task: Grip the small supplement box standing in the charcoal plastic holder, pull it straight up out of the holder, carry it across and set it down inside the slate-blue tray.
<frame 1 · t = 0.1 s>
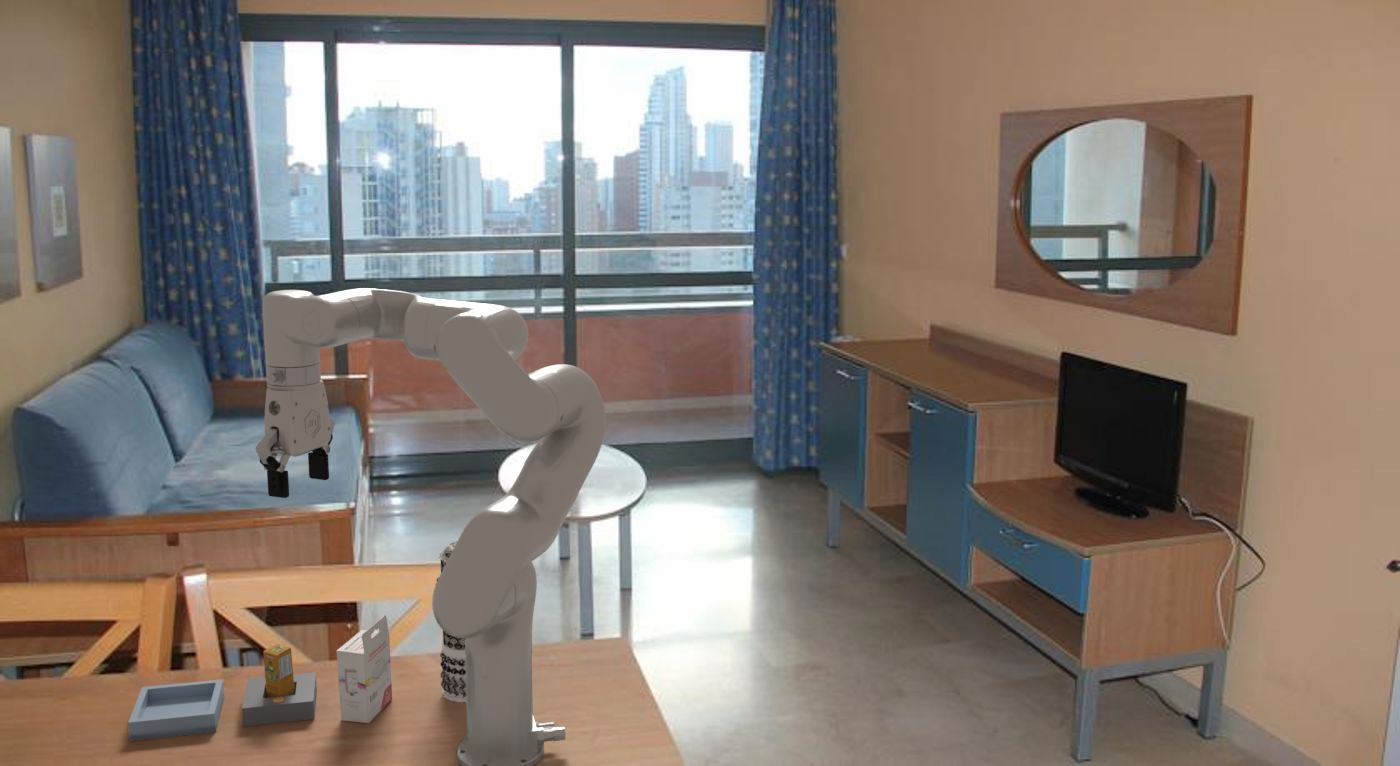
hand: (299, 487, 181), 37 cm above the table, tool pointing down, fingers open, 9 cm apart
holder and tray: (233, 712, 190), on the table
ink cartridge box: (366, 711, 191), on the table
supplement box: (281, 708, 191), resting in holder and tray
decorative candle: (468, 691, 198), on the table
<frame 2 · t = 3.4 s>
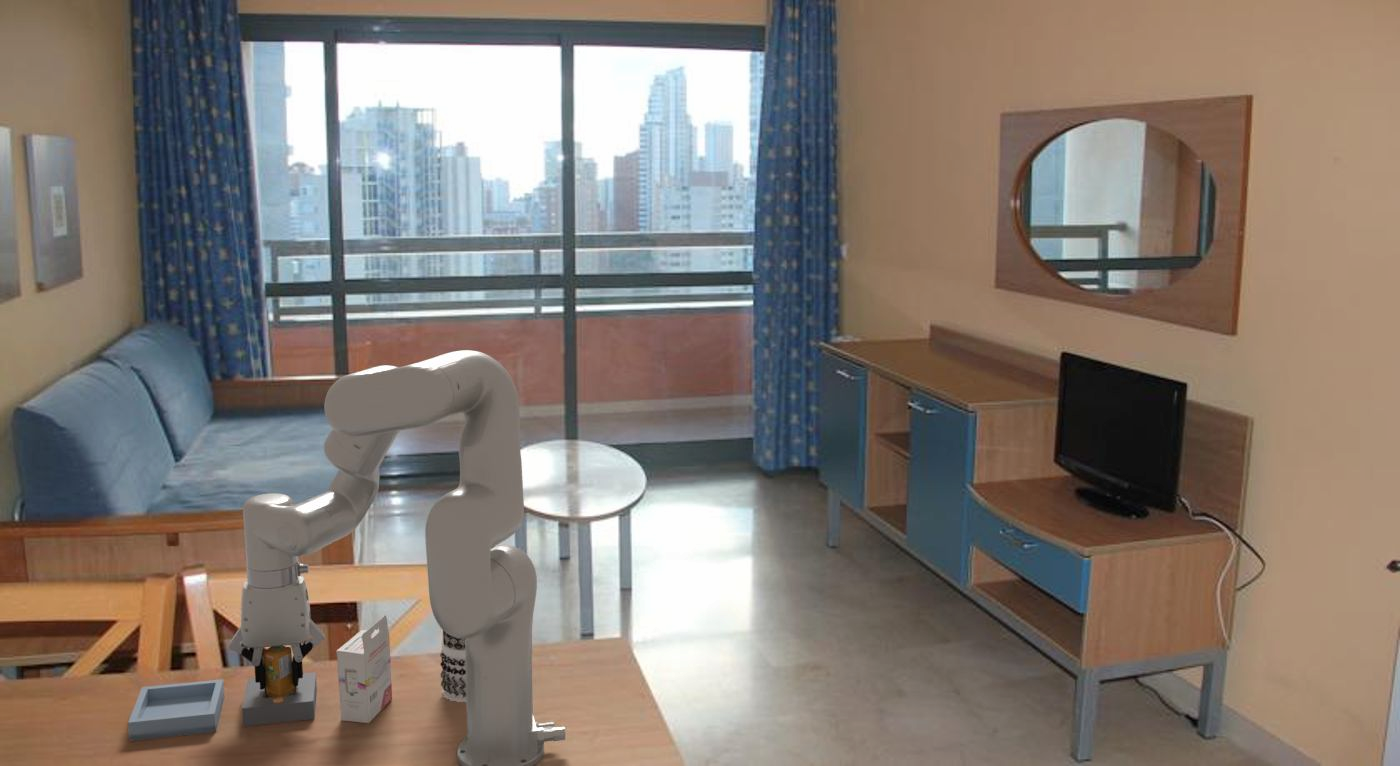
hand: (279, 683, 191), 4 cm above the table, tool pointing down, fingers closed on supplement box, 4 cm apart
supplement box: (281, 708, 191), resting in holder and tray, touching gripper
everything else where it was.
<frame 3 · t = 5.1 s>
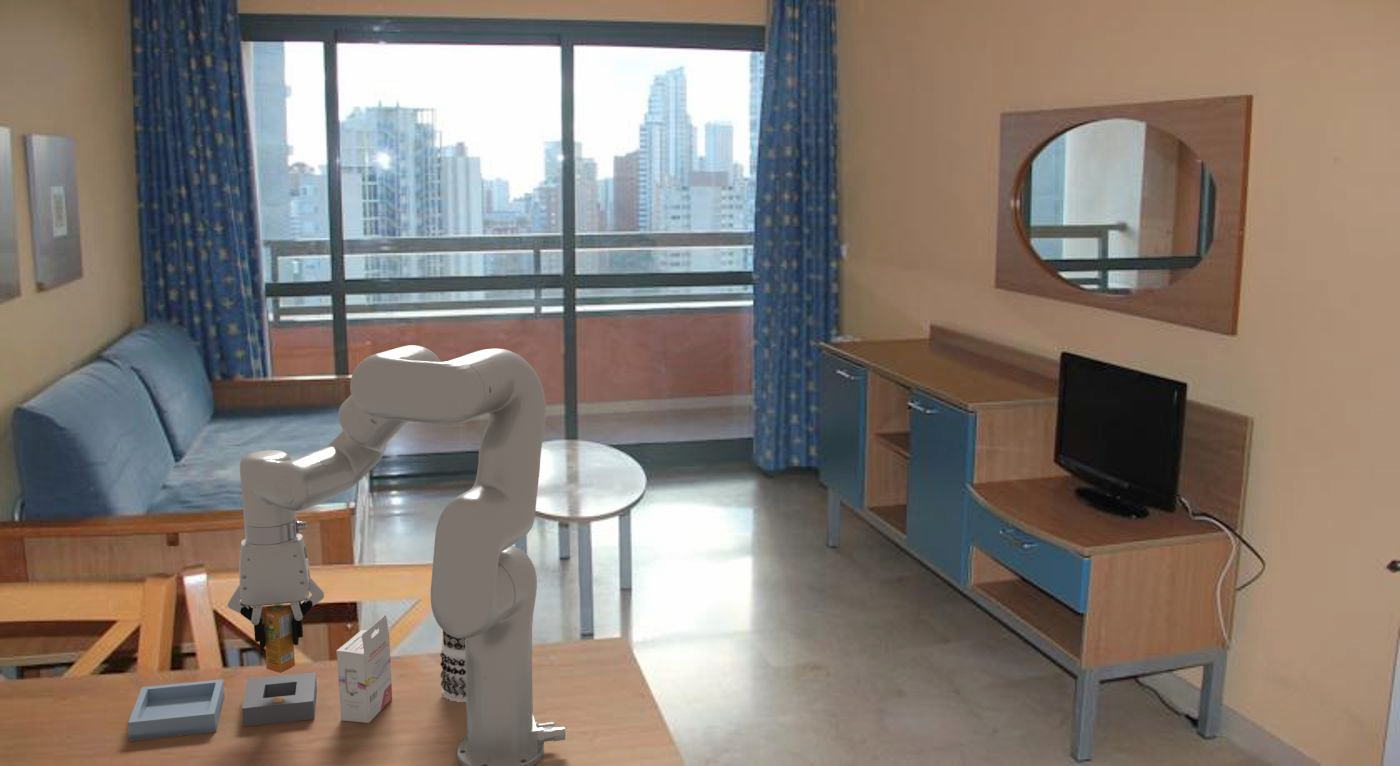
hand: (279, 642, 189), 11 cm above the table, tool pointing down, fingers closed on supplement box, 4 cm apart
supplement box: (280, 669, 190), point 7 cm above the table, touching gripper
everything else where it was.
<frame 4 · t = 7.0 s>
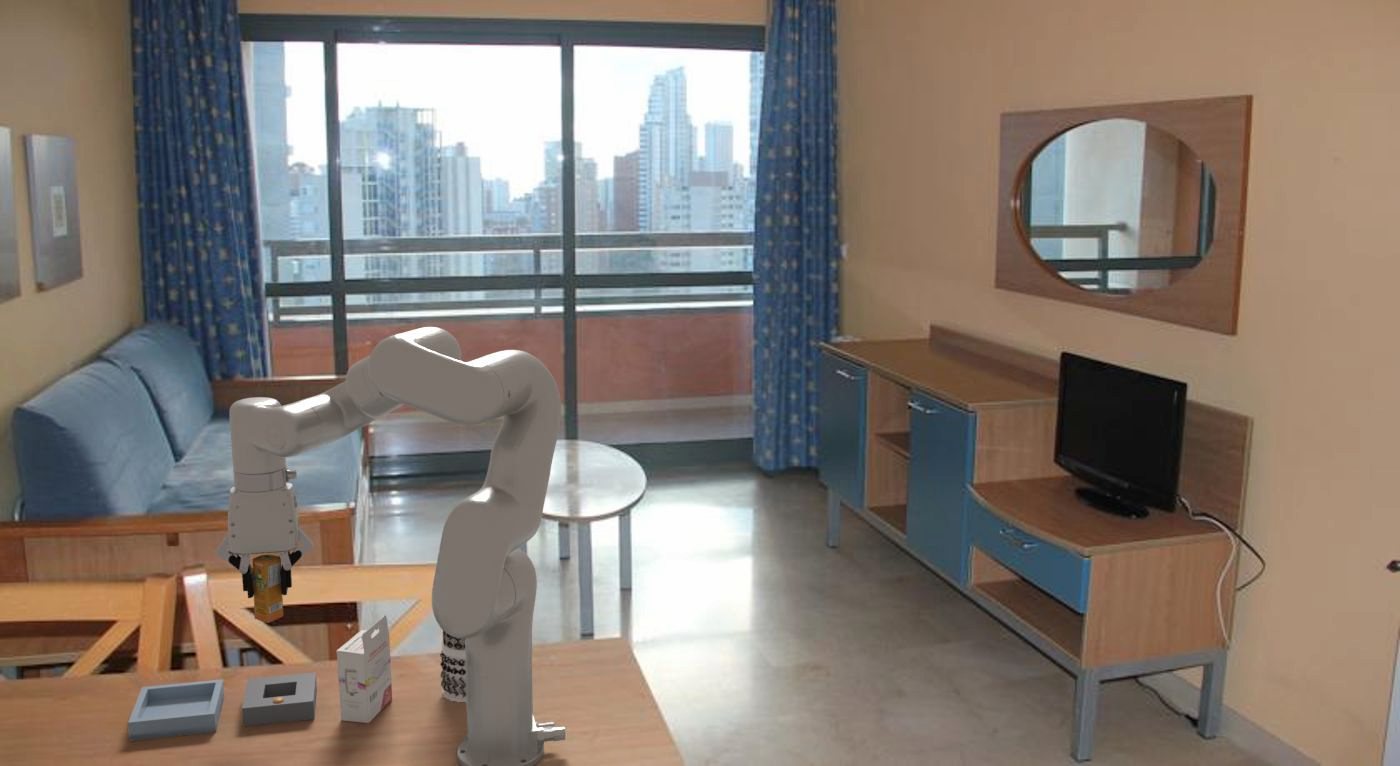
hand: (268, 592, 187), 19 cm above the table, tool pointing down, fingers closed on supplement box, 4 cm apart
supplement box: (268, 619, 188), point 15 cm above the table, touching gripper
everything else where it was.
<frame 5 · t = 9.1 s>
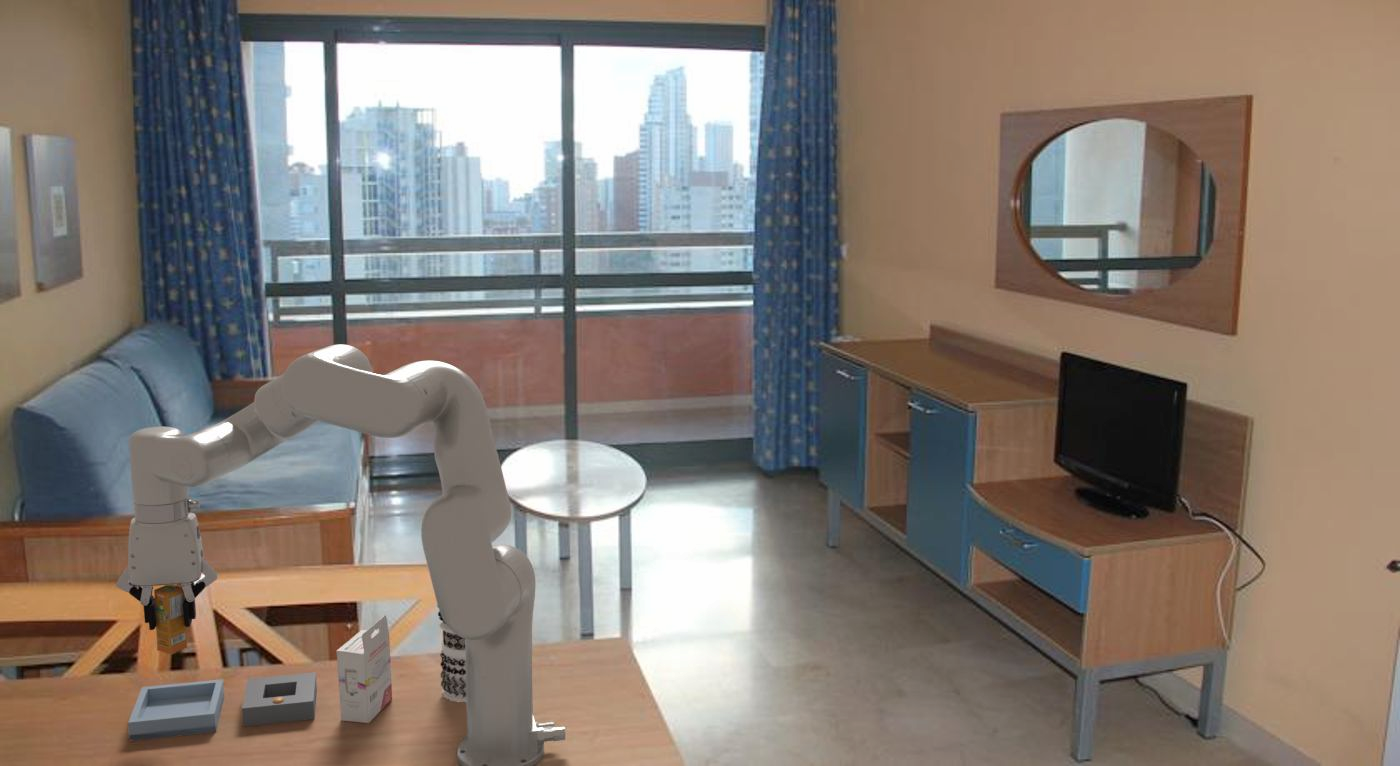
hand: (171, 623, 184), 16 cm above the table, tool pointing down, fingers closed on supplement box, 4 cm apart
supplement box: (171, 650, 185), point 11 cm above the table, touching gripper
everything else where it was.
when the fingers open (6 cm above the table, at t = 11.0 s): supplement box drops 1 cm, resting on holder and tray.
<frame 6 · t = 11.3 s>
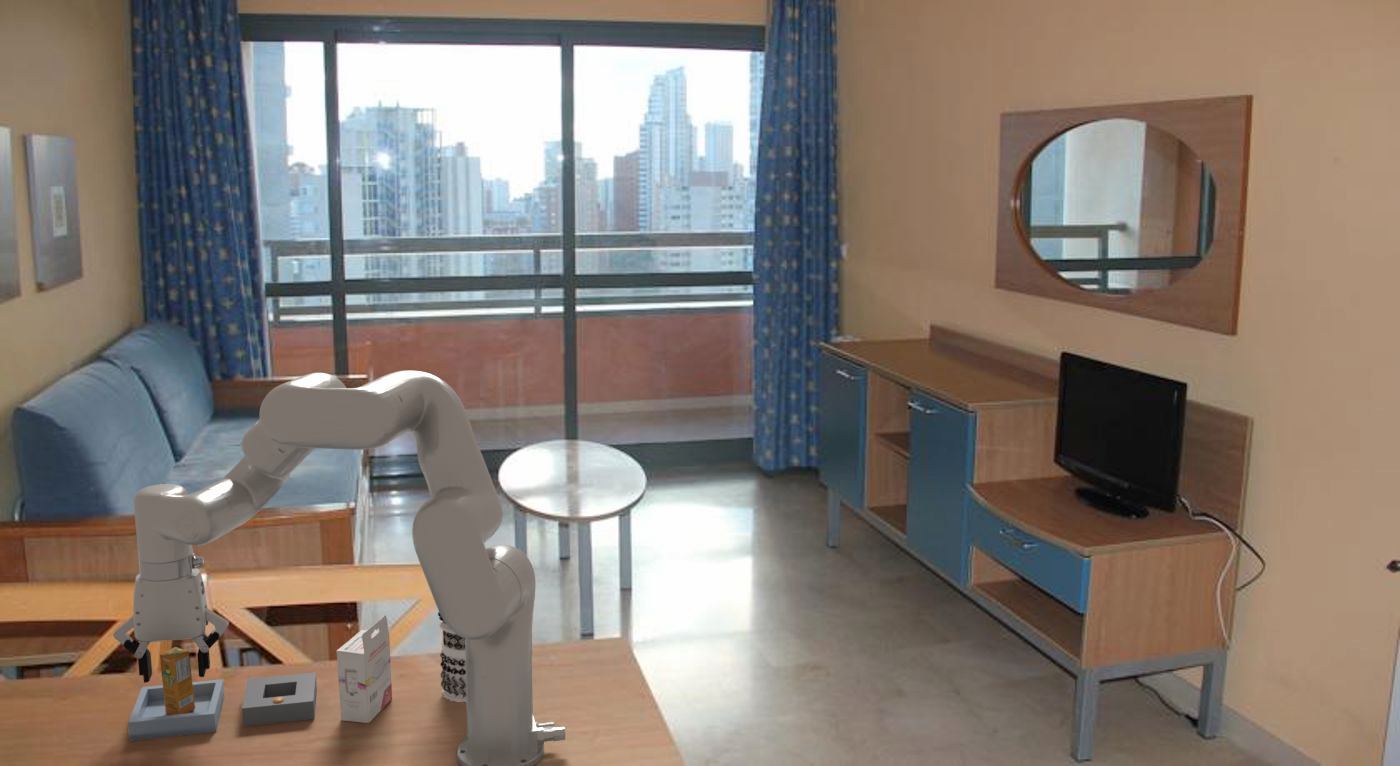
hand: (175, 675, 186), 7 cm above the table, tool pointing down, fingers open, 7 cm apart
supplement box: (179, 713, 187), point 1 cm above the table, touching holder and tray
everything else where it was.
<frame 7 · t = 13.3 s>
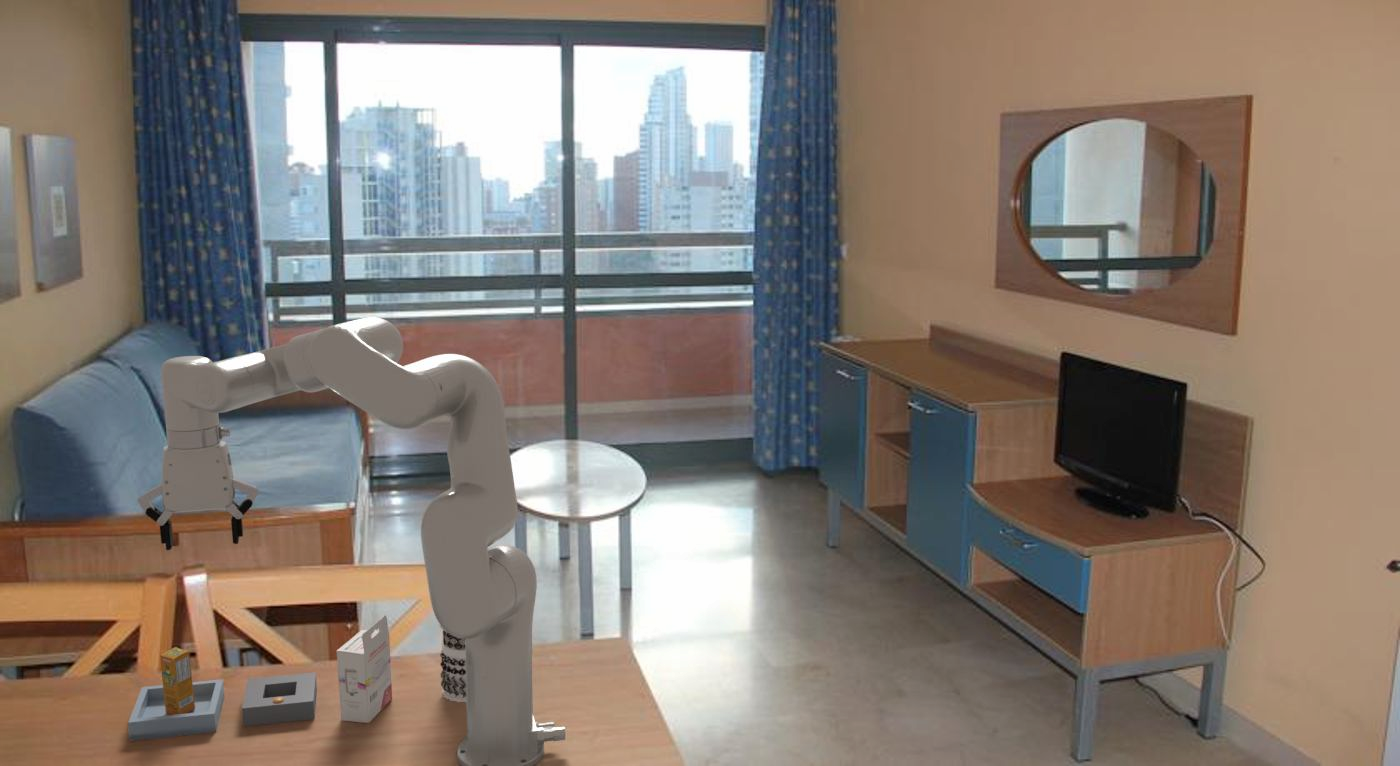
hand: (203, 544, 189), 26 cm above the table, tool pointing down, fingers open, 9 cm apart
nothing on the table moved.
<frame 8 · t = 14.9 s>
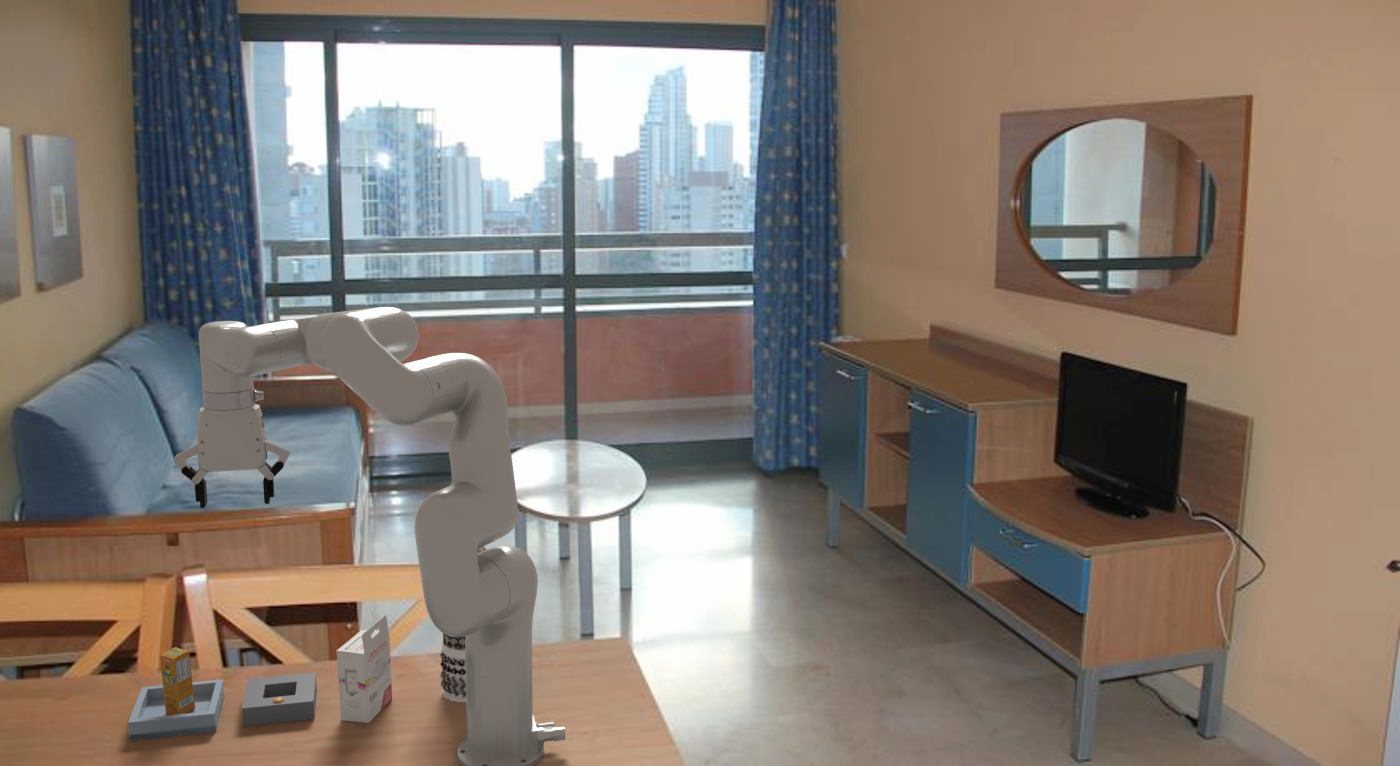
hand: (235, 503, 195), 30 cm above the table, tool pointing down, fingers open, 9 cm apart
nothing on the table moved.
at the end: supplement box inside the target area on the holder and tray (0.2 cm from its centre), point 0.8 cm above the holder and tray's base; the gripper is holding nothing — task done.
